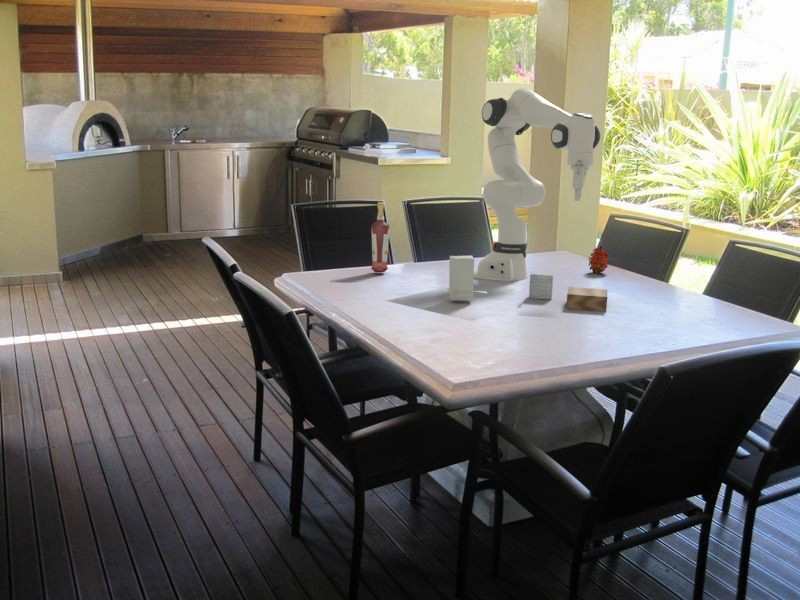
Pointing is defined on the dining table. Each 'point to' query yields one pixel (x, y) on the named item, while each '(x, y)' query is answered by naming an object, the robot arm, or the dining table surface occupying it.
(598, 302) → the walnut block
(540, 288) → the grey streaked block
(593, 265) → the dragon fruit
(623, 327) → the dining table surface
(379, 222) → the liquor
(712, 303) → the dining table surface
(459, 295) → the skincare box
